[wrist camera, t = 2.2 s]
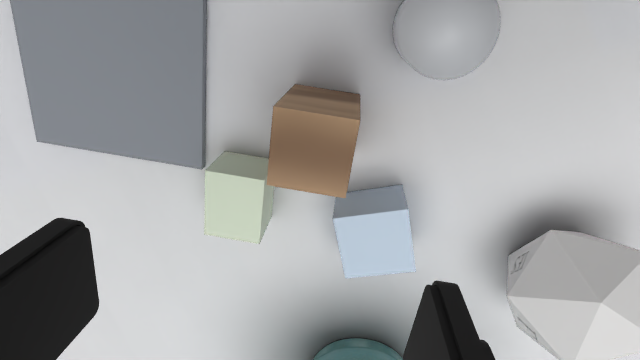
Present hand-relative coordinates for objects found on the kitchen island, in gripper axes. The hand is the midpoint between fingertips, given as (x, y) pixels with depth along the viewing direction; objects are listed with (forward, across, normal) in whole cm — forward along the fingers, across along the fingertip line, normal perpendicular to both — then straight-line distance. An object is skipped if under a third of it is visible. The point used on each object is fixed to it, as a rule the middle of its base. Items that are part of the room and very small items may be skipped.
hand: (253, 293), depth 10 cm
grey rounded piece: (+18, -6, -8) cm, 20 cm away
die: (+18, -20, +8) cm, 27 cm away
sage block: (+18, +4, +6) cm, 19 cm away
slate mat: (+18, +14, -2) cm, 23 cm away
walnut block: (+18, 0, 0) cm, 18 cm away
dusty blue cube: (+18, -6, +6) cm, 20 cm away
